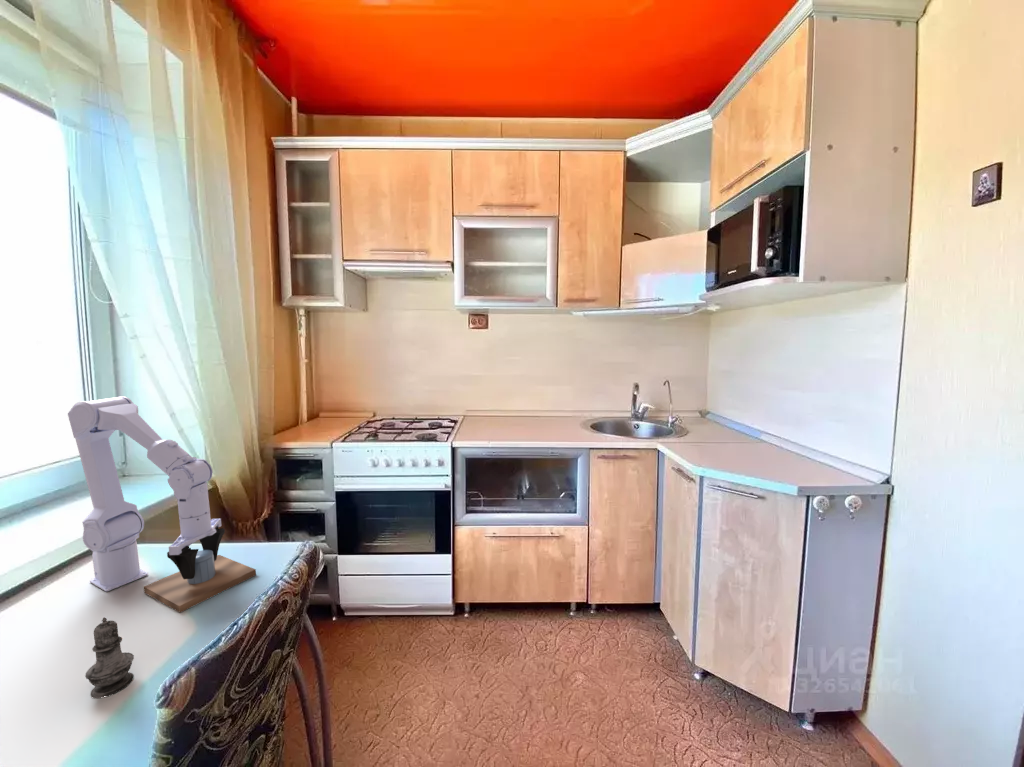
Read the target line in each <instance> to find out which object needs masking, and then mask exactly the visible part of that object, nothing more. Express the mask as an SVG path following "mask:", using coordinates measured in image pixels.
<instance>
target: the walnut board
mask: <svg viewBox="0 0 1024 767" xmlns="http://www.w3.org/2000/svg"><path fill="white" fill-rule="evenodd" d="M214 564H215V576H214V577H213V578H211V579H210V580H207V581H205V582H202V583H198V584H189V583H188V582H187V579H183V577H182V575H181V573H180V571H179V570H178V571H177V572H174V573H172V574H170V575H168V576H166V577H162V578H160V579H158V580H155V581H154V582H151V583H148V584H145V585H144V586H143V592H144V594H146V595H147V594H148V596H149V595H150V598H153V599H155V600H156V599H157V601H158V602H160V603H161V604H163V603H164V605H166V606H167V607H169V608H171V609H172V608H173V610H175V612H178V613H183V612H184V611H187V610H188V609H191V608H193V607H195V606H197V605H198V604H201V603H203V602H205V601H207V600H208V599H211V598H212V597H215V596H217V595H219V594H221V593H223V592H225V591H227V590H229V589H231V588H233V587H235V586H237V585H239V584H241V583H243V582H245V581H247V580H249V579H251V578H253V577H255V576H257V572H256V569H255V568H253V567H252V566H249V565H246V564H243V563H241V562H239V561H236V560H234V559H231V558H228V557H225V556H223V555H221V554H217V559H216V560H215V561H214ZM224 590H225V591H224ZM222 591H223V592H222ZM218 593H219V594H218ZM214 595H215V596H214ZM210 597H211V598H210Z"/></svg>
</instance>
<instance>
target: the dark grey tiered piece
mask: <svg viewBox="0 0 1024 767" xmlns="http://www.w3.org/2000/svg"><path fill="white" fill-rule="evenodd" d="M118 629H119V628H118V623H117V622H116V621H115V620H108V618H106V617H103V618H102V619H101V622H100V623H99V624H98V625H97V626H95V628H94V629H93V639H94V646H93V647H92V652H93V653H95V658H96V661H95V663H94V664H93V665H92V666H90V667H89V668H88V669H87V671H86V672H85V675H84V676H85V678H86V680H88V681H89V683H90V684H91V685H92V686H94V687H93V688H92V689H91V691H90V695H89V696H91V698H92V697H93V699H102V698H101V697H104V696H108V697H110V696H113V695H116V694H117V693H119V692H121V691H123V690H124V689H126V688H127V687H128V686H129V685H130V684H131V683H132V682H133V680H134V679H135V674H134V673H133V672H130V670H131V667H132V665H133V661H134V659H135V658H134V657H135V655H134V654H133V653H132V652H127V651H125V652H122V647H121V643H122V641H123V637H122V636H119V631H118ZM112 694H113V695H112ZM109 695H110V696H109ZM104 698H105V697H104Z"/></svg>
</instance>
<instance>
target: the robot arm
mask: <svg viewBox="0 0 1024 767" xmlns="http://www.w3.org/2000/svg"><path fill="white" fill-rule="evenodd" d="M67 418H68V421H69V423H70V428H71V432H72V435H73V439H75V442H76V443H75V444H76V446H77V451H78V454H79V458H80V461H81V465H82V469H83V473H84V477H85V481H86V484H87V487H88V491H89V492H88V493H89V496H90V500H91V503H92V507H93V509H92V511H91V512H90V513H88V515H87V516H86V518H84V519H83V521H82V528H83V533H82V541H83V544H84V545H85V547H86V548H88V549H89V550H91V552H92V556H91V557H92V564H93V572H94V573H93V574H94V578H91V579H90V580H89V582H90V583H91V584H93V585H94V586H96V587H98V588H99V589H101V590H102V591H104V592H110V591H112V590H114V589H117V588H119V587H121V586H124V585H127V584H129V583H131V582H135V581H136V580H138V579H142V578H144V577H146V576H148V575H149V573H148V572H147V571H145V570H143V569H141V567H140V560H139V552H138V550H139V549H138V544H137V540H138V539H139V538H140V533H141V532H143V530H144V528H145V521H144V520H145V519H144V518H143V517H144V516H143V515H141V513H140V512H139V510H138V506H137V504H135V503H133V502H128V501H126V500H125V497H124V495H123V494H124V493H123V490H122V486H121V482H120V479H119V474H118V471H117V467H116V462H115V459H114V455H113V451H112V448H111V443H110V440H109V439H110V437H111V436H112V435H113V434H114V433H115V431H120V432H121V433H123V434H125V435H126V436H128V437H129V438H130V439H132V440H133V441H135V442H136V443H137V444H138V445H139V446H142V447H143V448H144V449H145V450H147V451H146V452H147V453H146V457H147V459H148V460H149V461H150V462H151V463H152V464H154V465H155V466H156V467H157V468H158V469H160V471H162V472H163V473H164V474H166V476H168V478H167V482H168V483H167V484H169V486H170V488H171V489H172V490H173V496H174V497H175V499H176V500H177V507H178V508H177V509H178V518H179V527H180V528H179V529H180V535H179V536H178V537H177V538H176V540H174V542H173V543H172V544H171V545H169V546H168V551H167V552H166V555H167V558H168V559H170V561H171V562H172V563H174V565H175V566H176V567H177V569H178V572H179V571H180V573H181V575H182V577H183V579H193V578H194V576H195V560H196V555H197V552H198V551H200V550H199V548H193V549H191V547H190V546H192V544H194V543H195V542H197V541H199V543H200V544H201V547H202V550H212V551H213V555H214V561H215V560H216V559H217V555H219V554H218V553H219V548H220V544H221V541H222V538H223V536H224V534H225V533H226V531H225V528H224V527H222V518H211V509H210V501H209V489H208V482H209V481H210V480H211V479H212V477H213V468H212V466H211V464H210V463H209V462H208V460H206V459H204V458H197V457H196V456H192V455H190V454H189V453H188V452H187V451H186V450H184V449H183V448H182V447H181V446H180V445H179V443H178V442H176V441H175V440H173V439H163V438H162V437H161V436H160V435H159V434H158V433H157V432H156V431H155V430H154V429H153V428H152V427H151V426H150V424H148V423H147V422H146V421H145V419H144V418H142V417H141V416H140V415H139V406H138V405H137V404H135V403H134V402H133V401H132V399H131V398H129V397H127V396H123V395H122V396H121V395H120V396H116V397H110V398H109V397H108V398H102V399H96V400H88V401H87V400H83V401H78V402H76V403H75V404H74V405H72V408H71V409H70V410H69V411H68V413H67ZM220 527H222V528H220Z"/></svg>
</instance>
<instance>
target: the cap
mask: <svg viewBox="0 0 1024 767" xmlns="http://www.w3.org/2000/svg"><path fill="white" fill-rule="evenodd" d="M214 576H215V564H214V555H213V551H212V550H203V549H202V550H198V552H197V555H196V560H195V576H194V578H193V579H187V582H188V583H189V584H198V583H202V582H205V581H207V580H210V579H211V578H213V577H214Z"/></svg>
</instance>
